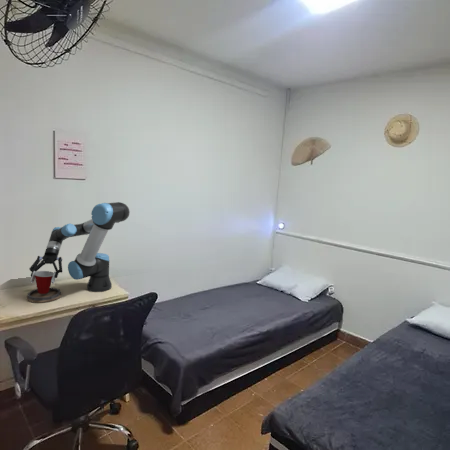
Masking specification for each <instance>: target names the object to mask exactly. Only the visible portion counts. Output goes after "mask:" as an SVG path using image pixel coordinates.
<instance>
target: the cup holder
mask: <svg viewBox="0 0 450 450" xmlns="http://www.w3.org/2000/svg"><path fill="white" fill-rule="evenodd" d="M62 296H63V294H62V291H61V290H60V289H59V288H56V287H50V290H49V292H48V293H46V294H39V293H38V290H37V288H36V289H32V290H30V291H29V292H28V293H27V295H26V301H27V302H29V303H33V304H45V303H46V304H47V303H51V302H54V301H57V300H60V299H61V298H62Z"/></svg>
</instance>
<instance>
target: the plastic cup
mask: <svg viewBox="0 0 450 450" xmlns="http://www.w3.org/2000/svg"><path fill="white" fill-rule="evenodd" d="M53 274H54V271H53V272H52V271H49V270H40V271H39V270H37V271H36V272H35V273H34V275H35V279H34V280H35V284H36V289H37V290H38V293H39V294H46V293H48V292H49V290H50V288H51V285H52V282H51V280H52V277H53Z"/></svg>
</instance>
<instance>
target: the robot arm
mask: <svg viewBox="0 0 450 450" xmlns="http://www.w3.org/2000/svg"><path fill="white" fill-rule="evenodd" d="M130 212H131V211H130V208H129V207H128V206H127V204H125V203H124V202H119V201H118V202H102V203H98V204H96V205H94V207H93V208H92V210H91V213H90V214H91V219H89V220H87V221H84V222H83V223H77V224H73V223H67V224H64V225H63V226H61V227H60V226H57V227H53V228H52V231H51V233H50V236H49V239H48V243H47V245H46V248H45V250H44V254H43V256H40V255H38V256H37V258H36V259H35V261H34V262H32V265H31V266H30V267H29V271H30V277H31V278H30V283H32V284H33V283H34V281H35V280H36V279H35V275H34V273H35V272H37V271H39V269H41V268H42V267H43V266H44V265H45V266H46V265H53V266H52V267H53V268H54V271H53V273H54V274H53V277H52V280H51V285H53V284H54V283H55V281H56V279H57V278H58V276H59V274H60V273H61V274H63V265H62V262H63V257H62V256H59V253H60V251H61V247H62V244H63V241H65V240H66V239H68V238H74V237H79V236H88V237H87V239H86V241H85V243H84V245H83V248H82V250H81V252H80V253H78V254H77V255H76V257H75V259H74V260H71V261H70V262H68V264H67V271H68V273H69V276H70V277H71V278H72V279H74V280H83V279H85V278H88V281H87V285H86V289H87V291H89V292H94V293H98V292H99V293H100V292H101V293H102V292H106V291H109V290H111V289H112V285H113V284H112V281H111V278H110V256H109V254H107V253H101V252H99V251H100V249H101V246H102V244H103V243H104V240H105V238H106V236H107V234H108V231H110V230H112V229H113V227H114V225H115V224H119V223H120V222H125V221H126V220H127V219H128V218H129V216H130ZM58 256H59V257H58ZM56 261H58V267H57V264H56Z"/></svg>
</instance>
